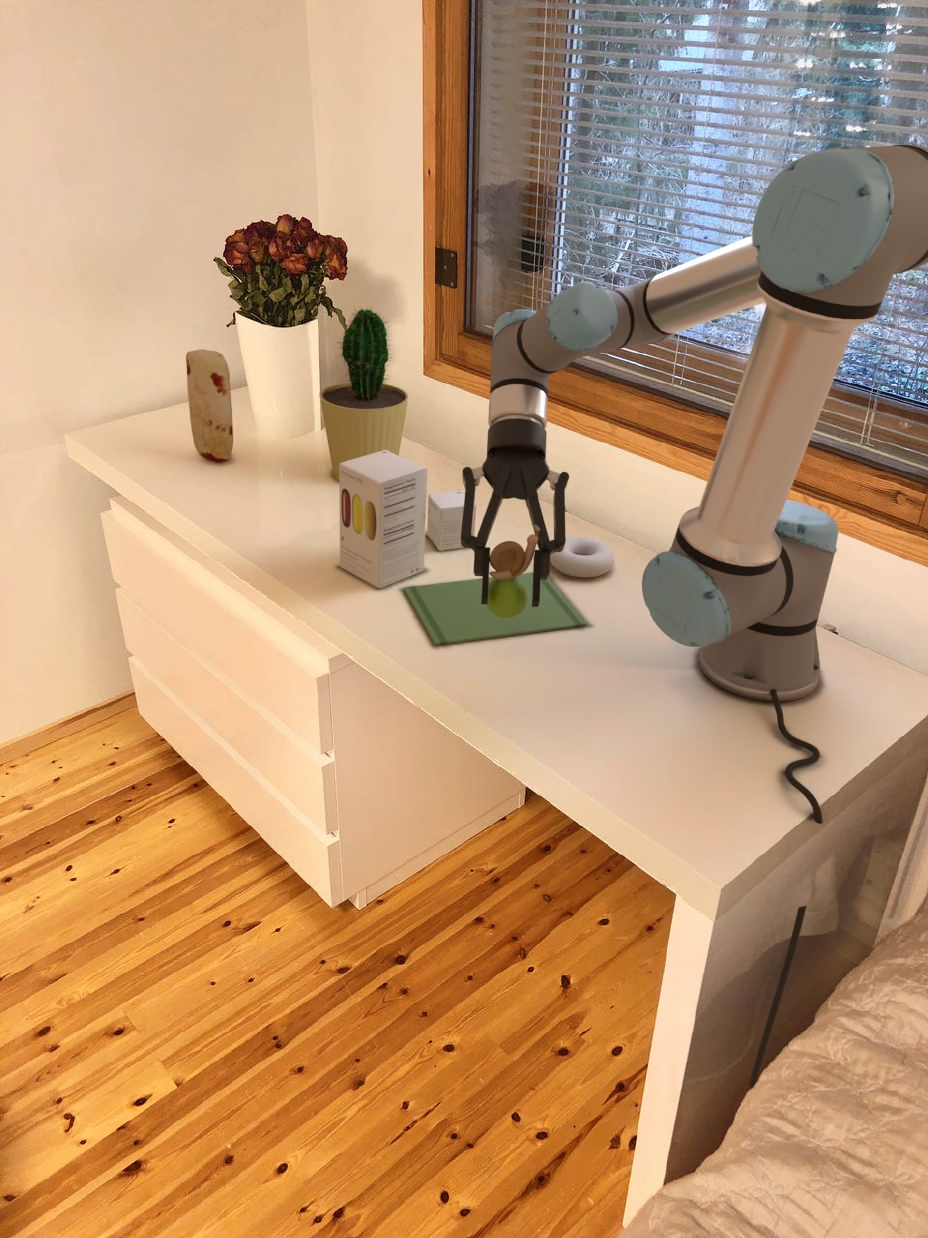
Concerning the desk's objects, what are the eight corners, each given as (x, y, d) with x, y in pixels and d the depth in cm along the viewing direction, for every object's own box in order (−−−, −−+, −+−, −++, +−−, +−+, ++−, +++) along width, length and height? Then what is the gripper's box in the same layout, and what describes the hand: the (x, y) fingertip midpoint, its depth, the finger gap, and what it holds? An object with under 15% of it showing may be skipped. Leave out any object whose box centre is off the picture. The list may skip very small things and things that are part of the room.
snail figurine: (540, 621, 131) (548, 535, 125) (493, 628, 129) (499, 541, 123) (522, 601, 136) (529, 516, 130) (476, 608, 133) (482, 522, 127)
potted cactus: (328, 455, 196) (324, 292, 181) (410, 460, 196) (413, 297, 181) (314, 488, 182) (309, 314, 167) (402, 493, 182) (405, 320, 167)
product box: (426, 535, 168) (427, 493, 164) (461, 530, 170) (463, 489, 166) (438, 551, 163) (440, 508, 159) (474, 546, 165) (477, 504, 161)
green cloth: (586, 625, 145) (586, 623, 145) (435, 645, 139) (435, 643, 139) (543, 573, 158) (543, 571, 158) (403, 589, 152) (403, 587, 152)
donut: (544, 577, 157) (610, 585, 156) (545, 557, 156) (612, 564, 154) (552, 549, 166) (615, 556, 164) (554, 529, 164) (617, 536, 163)
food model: (184, 455, 193) (173, 348, 183) (212, 446, 197) (204, 341, 187) (218, 470, 188) (209, 360, 177) (247, 460, 192) (240, 352, 182)
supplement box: (337, 567, 157) (336, 461, 149) (383, 549, 163) (384, 447, 154) (379, 590, 151) (380, 482, 143) (426, 571, 157) (429, 466, 149)
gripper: (586, 444, 137) (582, 614, 131) (445, 437, 137) (434, 607, 131) (593, 419, 130) (589, 597, 124) (444, 411, 130) (433, 589, 124)
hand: (510, 602), depth 127 cm, fingers closed on snail figurine, 6 cm apart
